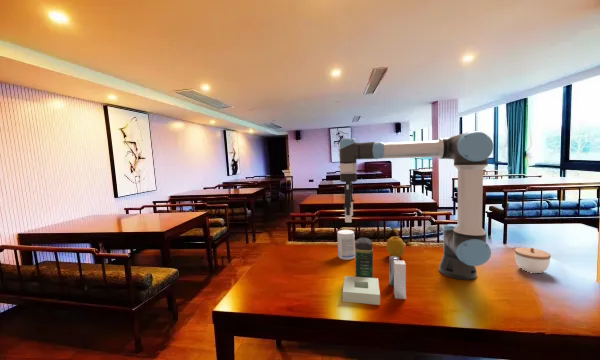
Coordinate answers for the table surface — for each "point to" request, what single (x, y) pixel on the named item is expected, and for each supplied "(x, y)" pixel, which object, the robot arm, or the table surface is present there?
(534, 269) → the dishware bowl
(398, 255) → the apple
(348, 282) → the socket block
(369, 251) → the coffee jar
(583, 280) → the table surface
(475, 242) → the robot arm
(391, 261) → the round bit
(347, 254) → the supplement tub
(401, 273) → the square bit
